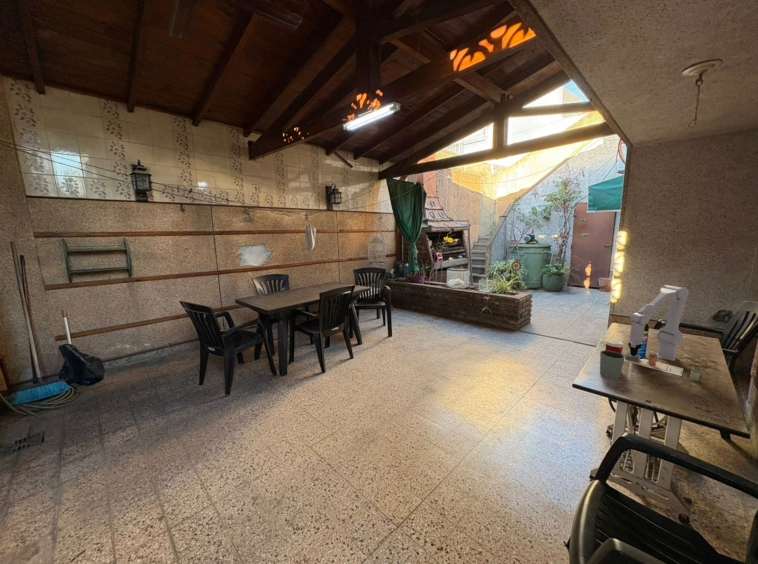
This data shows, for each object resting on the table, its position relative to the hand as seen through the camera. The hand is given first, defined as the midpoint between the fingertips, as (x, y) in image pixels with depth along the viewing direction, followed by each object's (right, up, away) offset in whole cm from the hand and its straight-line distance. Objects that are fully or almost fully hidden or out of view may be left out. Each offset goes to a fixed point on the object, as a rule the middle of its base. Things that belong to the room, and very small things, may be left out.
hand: (633, 355), depth 170 cm
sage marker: (+12, -7, -21) cm, 26 cm away
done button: (0, -2, 0) cm, 2 cm away
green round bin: (-27, -7, -16) cm, 32 cm away
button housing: (0, -3, +1) cm, 2 cm away
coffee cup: (-19, -5, -7) cm, 20 cm away
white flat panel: (+6, -4, -6) cm, 9 cm away
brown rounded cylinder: (+5, -4, -6) cm, 9 cm away
